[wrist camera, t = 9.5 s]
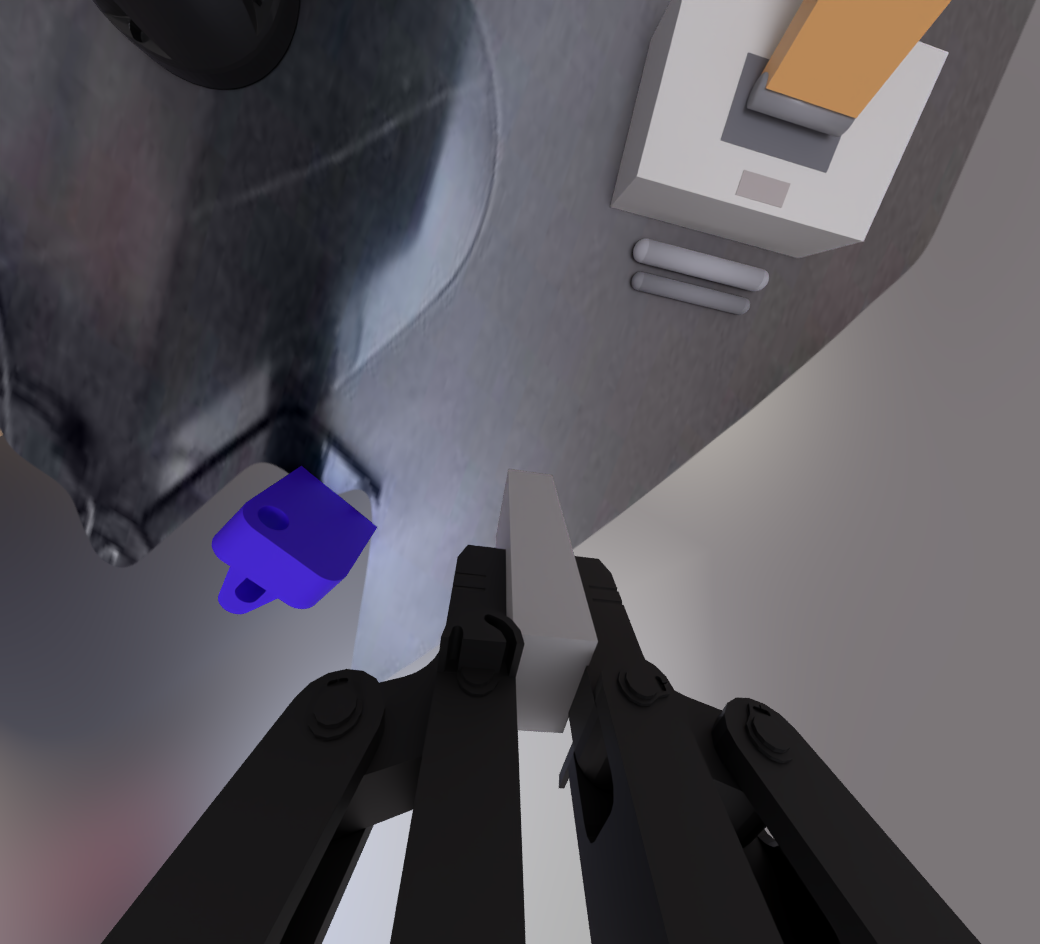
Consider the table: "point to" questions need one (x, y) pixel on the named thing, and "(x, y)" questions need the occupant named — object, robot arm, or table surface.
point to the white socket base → (757, 136)
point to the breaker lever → (839, 59)
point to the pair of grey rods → (700, 268)
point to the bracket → (289, 545)
